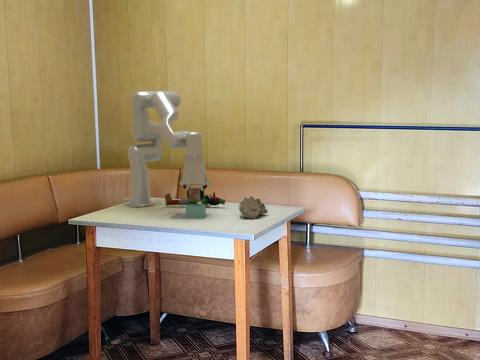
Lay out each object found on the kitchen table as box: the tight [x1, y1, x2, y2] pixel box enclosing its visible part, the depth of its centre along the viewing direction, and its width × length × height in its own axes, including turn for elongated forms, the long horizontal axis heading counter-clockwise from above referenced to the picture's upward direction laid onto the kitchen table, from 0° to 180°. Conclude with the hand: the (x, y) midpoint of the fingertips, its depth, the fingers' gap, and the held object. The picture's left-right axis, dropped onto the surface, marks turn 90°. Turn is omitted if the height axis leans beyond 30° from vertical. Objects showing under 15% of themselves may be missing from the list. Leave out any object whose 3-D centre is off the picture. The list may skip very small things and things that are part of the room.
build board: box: [169, 212, 210, 220], centre depth 275 cm, size 16×12×1 cm
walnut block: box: [189, 187, 201, 201], centre depth 273 cm, size 5×5×5 cm
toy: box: [164, 192, 226, 213], centre depth 300 cm, size 33×8×30 cm
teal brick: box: [185, 204, 207, 218], centre depth 274 cm, size 8×5×5 cm, turn 80°
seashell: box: [238, 195, 269, 220], centre depth 274 cm, size 11×14×10 cm
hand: (195, 198), depth 273 cm, fingers closed on walnut block, 5 cm apart
